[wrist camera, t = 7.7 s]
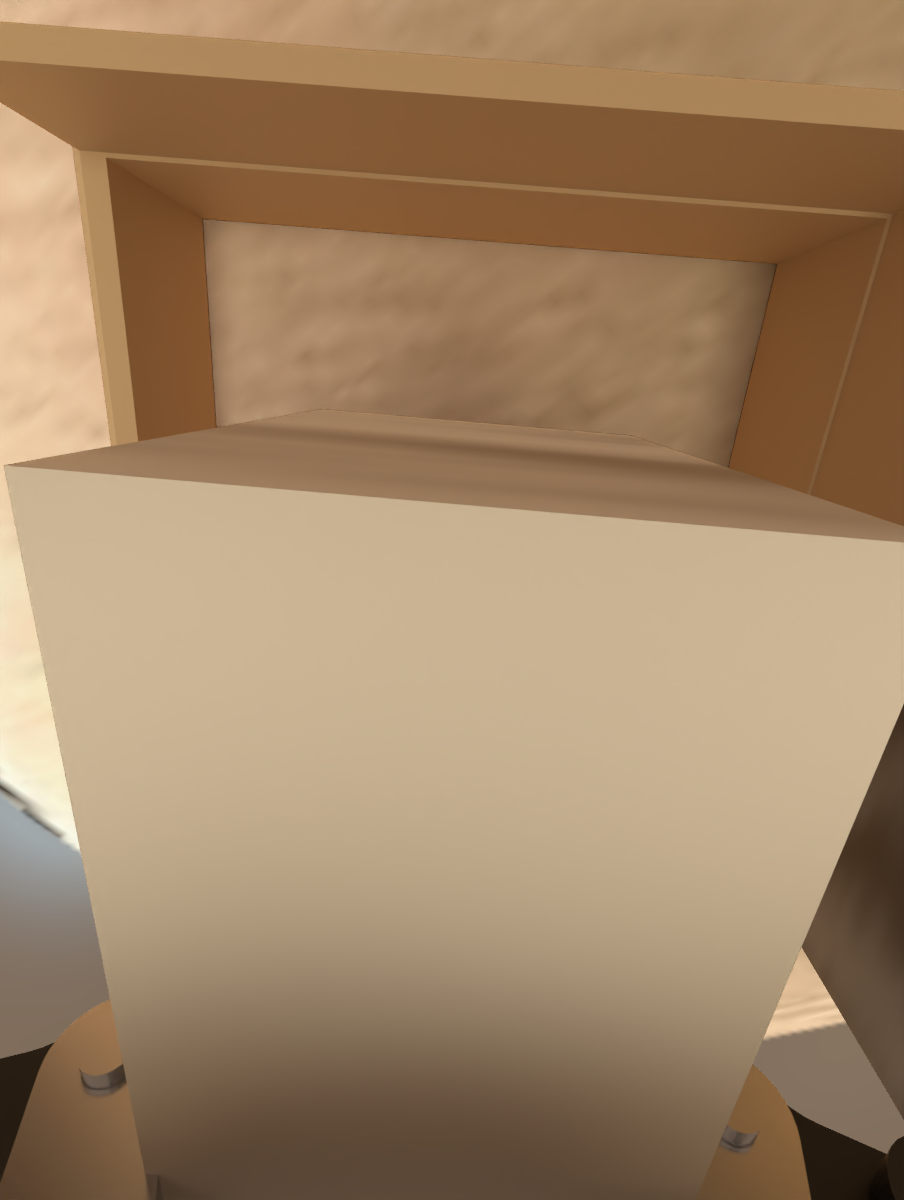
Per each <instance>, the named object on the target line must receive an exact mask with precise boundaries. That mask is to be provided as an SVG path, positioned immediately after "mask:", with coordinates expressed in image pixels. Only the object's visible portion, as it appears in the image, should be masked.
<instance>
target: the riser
mask: <svg viewBox="0 0 904 1200" xmlns="http://www.w3.org/2000/svg"><path fill="white" fill-rule="evenodd" d="M802 948H803V950H804V952H805V953H806V955H807V957H808V958H809V960H810V962H811V964H812V965H813V967H814V969H815V970H816V972H817V974H818V975H819V977H820V979H821V980H822V982H823V984H824V986H825V987H826V989H827V991H828V992H829V994H830V996H831V997H832V999H833V1001H834V1002H835V1004H836V1006H837V1007H838V1009H839V1011H840V1013H841V1014H842V1016H843V1018H844V1019H845V1021H846V1023H847V1024H848V1026H849V1028H850V1029H851V1031H852V1033H853V1034H854V1036H855V1038H856V1039H857V1041H858V1043H859V1045H860V1046H861V1048H862V1050H863V1051H864V1053H865V1055H866V1056H867V1058H868V1060H869V1062H870V1063H871V1065H872V1067H873V1068H874V1070H875V1072H876V1073H877V1075H878V1077H879V1078H880V1080H881V1082H882V1083H883V1085H884V1087H885V1088H886V1090H887V1092H888V1094H889V1095H890V1097H891V1099H892V1100H893V1102H894V1104H895V1105H896V1107H897V1109H898V1110H899V1112H900V1114H901V1115H902V1117H903V1119H904V704H903V707H902V709H901V711H900V714H899V716H898V719H897V721H896V723H895V726H894V728H893V731H892V733H891V735H890V738H889V740H888V742H887V745H886V747H885V750H884V752H883V754H882V757H881V759H880V761H879V764H878V766H877V769H876V771H875V773H874V776H873V778H872V781H871V783H870V785H869V788H868V790H867V792H866V795H865V797H864V800H863V802H862V804H861V807H860V809H859V811H858V814H857V816H856V819H855V821H854V823H853V826H852V828H851V830H850V833H849V835H848V838H847V840H846V842H845V845H844V847H843V850H842V852H841V854H840V857H839V859H838V861H837V864H836V866H835V869H834V871H833V873H832V876H831V878H830V880H829V883H828V885H827V888H826V890H825V892H824V895H823V897H822V900H821V902H820V904H819V907H818V909H817V911H816V914H815V916H814V919H813V921H812V923H811V926H810V928H809V930H808V933H807V935H806V938H805V940H804V942H803V945H802Z"/></svg>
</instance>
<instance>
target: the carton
mask: <svg viewBox="0 0 904 1200" xmlns="http://www.w3.org/2000/svg"><path fill="white" fill-rule="evenodd" d="M0 102H1V103H2V104H4V105H6V106H7V107H9V108H11V109H12V110H14V111H16V112H17V113H19V114H20V115H22V116H24V117H25V118H27V119H29V120H30V121H32V122H34V123H35V124H37V125H38V126H40V127H42V128H43V129H45V130H47V131H48V132H50V133H52V134H53V135H55V136H57V137H58V138H60V139H61V140H63V141H65V142H66V143H68V144H70V145H71V146H72V148H73V156H74V163H75V171H76V179H77V186H78V194H79V202H80V210H81V217H82V225H83V233H84V240H85V248H86V256H87V263H88V271H89V279H90V287H91V294H92V302H93V310H94V317H95V325H96V333H97V340H98V348H99V356H100V363H101V371H102V379H103V387H104V394H105V402H106V410H107V417H108V425H109V433H110V440H111V446H116V445H121V444H127V443H133V442H138V441H144V440H150V439H155V438H161V437H167V436H172V435H178V434H184V433H189V432H195V431H200V430H206V429H212V428H216V418H215V403H214V388H213V373H212V358H211V343H210V328H209V313H208V298H207V283H206V268H205V253H204V238H203V223H202V219H212V220H224V221H237V222H250V223H263V224H276V225H288V226H301V227H314V228H327V229H339V230H352V231H365V232H378V233H391V234H403V235H416V236H429V237H442V238H454V239H467V240H480V241H493V242H506V243H518V244H531V245H544V246H557V247H570V248H582V249H595V250H608V251H621V252H633V253H646V254H659V255H672V256H685V257H697V258H710V259H723V260H736V261H748V262H761V263H774V264H777V267H776V271H775V276H774V280H773V284H772V288H771V292H770V296H769V301H768V305H767V309H766V313H765V317H764V322H763V326H762V330H761V334H760V338H759V342H758V347H757V351H756V355H755V359H754V363H753V368H752V372H751V376H750V380H749V384H748V388H747V393H746V397H745V401H744V405H743V409H742V414H741V418H740V422H739V426H738V430H737V434H736V439H735V443H734V447H733V451H732V455H731V459H730V464H729V468H730V469H733V470H736V471H739V472H742V473H745V474H748V475H751V476H754V477H757V478H760V479H763V480H766V481H769V482H772V483H775V484H778V485H781V486H784V487H787V488H790V489H793V490H796V491H799V492H802V493H805V494H808V495H811V496H814V497H817V498H820V499H823V500H826V501H829V502H832V503H835V504H838V505H841V506H844V507H847V508H850V509H853V510H856V511H859V512H862V513H865V514H868V515H871V516H874V517H877V518H880V519H883V520H886V521H889V522H892V523H895V524H898V525H901V526H904V91H897V90H884V89H871V88H858V87H845V86H832V85H819V84H806V83H793V82H780V81H767V80H754V79H741V78H728V77H715V76H702V75H689V74H676V73H663V72H650V71H637V70H624V69H611V68H598V67H585V66H572V65H559V64H545V63H532V62H519V61H506V60H493V59H480V58H467V57H454V56H441V55H428V54H415V53H402V52H389V51H376V50H363V49H350V48H337V47H324V46H311V45H298V44H285V43H272V42H259V41H246V40H233V39H220V38H207V37H194V36H181V35H168V34H155V33H142V32H128V31H115V30H102V29H89V28H76V27H63V26H50V25H37V24H24V23H11V22H0Z"/></svg>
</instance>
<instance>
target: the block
mask: <svg viewBox="0 0 904 1200" xmlns="http://www.w3.org/2000/svg"><path fill="white" fill-rule="evenodd" d="M4 470H5V475H6V480H7V485H8V490H9V495H10V500H11V505H12V510H13V515H14V520H15V525H16V530H17V535H18V540H19V545H20V550H21V555H22V560H23V565H24V570H25V575H26V580H27V585H28V590H29V595H30V600H31V605H32V610H33V615H34V620H35V625H36V630H37V635H38V640H39V645H40V651H41V656H42V661H43V666H44V671H45V676H46V681H47V686H48V691H49V696H50V701H51V706H52V711H53V716H54V721H55V726H56V731H57V736H58V741H59V746H60V751H61V756H62V761H63V766H64V771H65V776H66V781H67V786H68V791H69V796H70V801H71V806H72V811H73V816H74V821H75V826H76V831H77V836H78V841H79V846H80V851H81V856H82V861H83V866H84V870H85V876H86V881H87V885H88V890H89V895H90V901H91V906H92V911H93V916H94V921H95V926H96V931H97V936H98V940H99V946H100V951H101V956H102V961H103V966H104V971H105V976H106V981H107V986H108V991H109V996H110V1001H111V1006H112V1011H113V1016H114V1021H115V1026H116V1031H117V1036H118V1041H119V1046H120V1051H121V1056H122V1061H123V1066H124V1071H125V1076H126V1081H127V1086H128V1091H129V1096H130V1101H131V1106H132V1111H133V1116H134V1121H135V1126H136V1131H137V1136H138V1141H139V1146H140V1151H141V1156H142V1161H143V1166H144V1171H145V1174H156V1175H159V1179H160V1185H161V1190H162V1196H163V1200H695V1199H696V1197H697V1195H698V1192H699V1190H700V1188H701V1185H702V1183H703V1180H704V1178H705V1176H706V1173H707V1171H708V1169H709V1166H710V1164H711V1161H712V1159H713V1157H714V1154H715V1152H716V1149H717V1147H718V1145H719V1142H720V1140H721V1138H722V1135H723V1133H724V1130H725V1128H726V1126H727V1123H728V1121H729V1119H730V1116H731V1114H732V1111H733V1109H734V1107H735V1104H736V1102H737V1099H738V1097H739V1095H740V1092H741V1090H742V1088H743V1085H744V1083H745V1080H746V1078H747V1076H748V1073H749V1071H750V1069H751V1066H752V1064H753V1061H754V1059H755V1057H756V1054H757V1052H758V1049H759V1047H760V1045H761V1042H762V1040H763V1038H764V1035H765V1033H766V1030H767V1028H768V1026H769V1023H770V1021H771V1019H772V1016H773V1014H774V1011H775V1009H776V1007H777V1004H778V1002H779V1000H780V997H781V995H782V992H783V990H784V988H785V985H786V983H787V980H788V978H789V976H790V973H791V971H792V969H793V966H794V964H795V961H796V959H797V957H798V954H799V952H800V950H801V947H802V945H803V942H804V940H805V938H806V935H807V933H808V930H809V928H810V926H811V923H812V921H813V919H814V916H815V914H816V911H817V909H818V907H819V904H820V902H821V900H822V897H823V895H824V892H825V890H826V888H827V885H828V883H829V880H830V878H831V876H832V873H833V871H834V869H835V866H836V864H837V861H838V859H839V857H840V854H841V852H842V850H843V847H844V845H845V842H846V840H847V838H848V835H849V833H850V830H851V828H852V826H853V823H854V821H855V819H856V816H857V814H858V811H859V809H860V807H861V804H862V802H863V800H864V797H865V795H866V792H867V790H868V788H869V785H870V783H871V781H872V778H873V776H874V773H875V771H876V769H877V766H878V764H879V761H880V759H881V757H882V754H883V752H884V750H885V747H886V745H887V742H888V740H889V738H890V735H891V733H892V731H893V728H894V726H895V723H896V721H897V719H898V716H899V714H900V711H901V709H902V707H903V704H904V526H901V525H898V524H895V523H892V522H889V521H886V520H883V519H880V518H877V517H874V516H871V515H868V514H865V513H862V512H859V511H856V510H853V509H850V508H847V507H844V506H841V505H838V504H835V503H832V502H829V501H826V500H823V499H820V498H817V497H814V496H811V495H808V494H805V493H802V492H799V491H796V490H793V489H790V488H787V487H784V486H781V485H778V484H775V483H772V482H769V481H766V480H763V479H760V478H757V477H754V476H751V475H748V474H745V473H742V472H739V471H736V470H733V469H730V468H727V467H724V466H721V465H718V464H715V463H712V462H709V461H706V460H703V459H700V458H697V457H694V456H691V455H688V454H685V453H682V452H679V451H676V450H673V449H670V448H667V447H664V446H661V445H658V444H655V443H652V442H649V441H646V440H643V439H640V438H637V437H635V436H632V435H620V434H608V433H597V432H585V431H573V430H562V429H550V428H538V427H526V426H515V425H503V424H491V423H480V422H468V421H456V420H444V419H433V418H421V417H409V416H398V415H386V414H374V413H362V412H351V411H339V410H327V409H319V410H313V411H308V412H302V413H296V414H291V415H285V416H279V417H274V418H268V419H263V420H257V421H251V422H246V423H240V424H234V425H229V426H223V427H217V428H212V429H206V430H200V431H195V432H189V433H184V434H178V435H172V436H167V437H161V438H155V439H150V440H144V441H138V442H133V443H127V444H121V445H116V446H110V447H105V448H99V449H93V450H88V451H82V452H76V453H71V454H65V455H59V456H54V457H48V458H42V459H37V460H31V461H26V462H20V463H14V464H9V465H4Z"/></svg>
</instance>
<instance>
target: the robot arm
mask: <svg viewBox="0 0 904 1200" xmlns="http://www.w3.org/2000/svg"><path fill="white" fill-rule="evenodd" d="M0 1200H163V1196H162V1190H161V1185H160V1179H159V1175H156V1174H145V1171H144V1166H143V1161H142V1156H141V1151H140V1146H139V1141H138V1136H137V1131H136V1126H135V1121H134V1116H133V1111H132V1106H131V1101H130V1096H129V1091H128V1086H127V1081H126V1076H125V1071H124V1066H123V1061H122V1056H121V1051H120V1046H119V1041H118V1036H117V1031H116V1026H115V1021H114V1016H113V1011H112V1006H111V1001H110V1000H108V1001H105V1002H103V1003H101V1004H99V1005H98V1006H96V1007H94V1008H92V1009H90V1010H89V1011H87V1012H86V1013H85V1014H83V1015H82V1016H80V1017H79V1018H78V1019H77V1020H75V1021H74V1022H73V1023H72V1024H71V1025H70V1026H69V1027H68V1028H67V1029H66V1030H65V1031H64V1032H63V1033H62V1034H61V1035H60V1036H59V1037H58V1039H57V1040H56V1041H55V1042H54V1043H52V1044H50V1045H47V1046H45V1047H43V1048H39V1049H36V1050H33V1051H30V1052H26V1053H22V1054H18V1055H14V1056H10V1057H6V1058H2V1059H0ZM695 1200H904V1136H903V1137H901V1138H899V1139H898V1140H896V1142H895V1143H894V1144H893V1145H892V1146H891V1148H890V1150H889V1151H888V1153H887V1154H885V1153H883V1152H881V1151H878V1150H876V1149H874V1148H872V1147H869V1146H867V1145H865V1144H863V1143H860V1142H858V1141H856V1140H853V1139H851V1138H849V1137H847V1136H844V1135H842V1134H840V1133H838V1132H835V1131H833V1130H831V1129H829V1128H826V1127H824V1126H822V1125H820V1124H817V1123H815V1122H813V1121H812V1120H809V1119H807V1118H805V1117H804V1116H802V1115H801V1114H799V1113H797V1112H796V1111H795V1110H793V1109H792V1108H790V1107H789V1106H788V1105H787V1104H786V1102H785V1100H784V1099H783V1098H782V1096H781V1094H780V1093H779V1092H778V1090H777V1089H776V1087H775V1086H774V1085H773V1084H772V1083H771V1082H770V1080H769V1079H768V1078H767V1077H766V1076H765V1075H764V1074H763V1073H762V1072H761V1071H760V1070H759V1069H758V1068H757V1067H755V1066H754V1065H753V1064H752V1066H751V1069H750V1071H749V1073H748V1076H747V1078H746V1080H745V1083H744V1085H743V1088H742V1090H741V1092H740V1095H739V1097H738V1099H737V1102H736V1104H735V1107H734V1109H733V1111H732V1114H731V1116H730V1119H729V1121H728V1123H727V1126H726V1128H725V1130H724V1133H723V1135H722V1138H721V1140H720V1142H719V1145H718V1147H717V1149H716V1152H715V1154H714V1157H713V1159H712V1161H711V1164H710V1166H709V1169H708V1171H707V1173H706V1176H705V1178H704V1180H703V1183H702V1185H701V1188H700V1190H699V1192H698V1195H697V1197H696V1199H695Z"/></svg>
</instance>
